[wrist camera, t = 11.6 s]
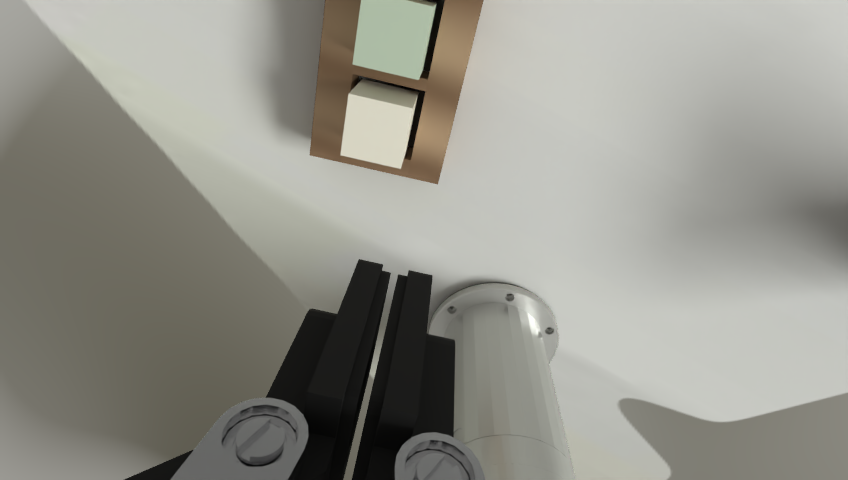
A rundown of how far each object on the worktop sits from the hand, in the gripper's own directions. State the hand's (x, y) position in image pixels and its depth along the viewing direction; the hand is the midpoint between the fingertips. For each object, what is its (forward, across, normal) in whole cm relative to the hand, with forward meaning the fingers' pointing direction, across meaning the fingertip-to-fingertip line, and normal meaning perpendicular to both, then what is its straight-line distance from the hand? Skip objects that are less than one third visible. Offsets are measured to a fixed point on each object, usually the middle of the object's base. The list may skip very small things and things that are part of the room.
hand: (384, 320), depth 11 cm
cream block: (+27, +4, +2) cm, 27 cm away
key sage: (+27, +4, -4) cm, 27 cm away
